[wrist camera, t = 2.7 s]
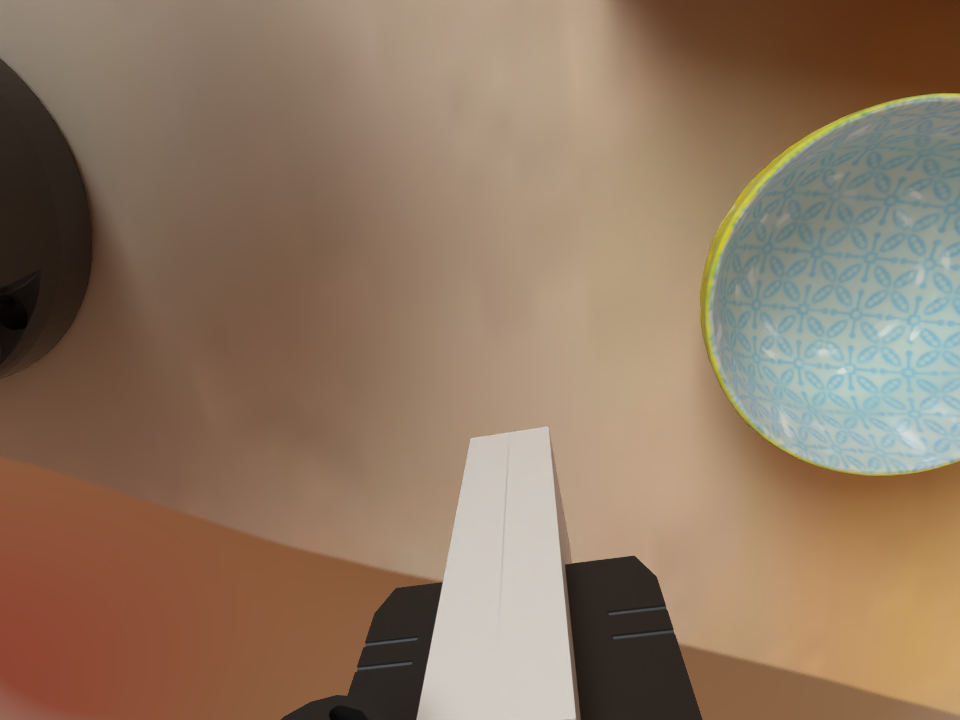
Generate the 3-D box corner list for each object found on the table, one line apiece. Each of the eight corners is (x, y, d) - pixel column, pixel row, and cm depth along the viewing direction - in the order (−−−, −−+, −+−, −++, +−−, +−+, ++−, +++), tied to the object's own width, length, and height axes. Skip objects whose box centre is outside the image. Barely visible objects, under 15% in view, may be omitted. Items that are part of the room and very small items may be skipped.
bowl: (750, 58, 22) (833, 22, 16) (1039, 180, 23) (1220, 187, 17) (615, 345, 26) (642, 400, 20) (869, 445, 26) (970, 527, 20)
